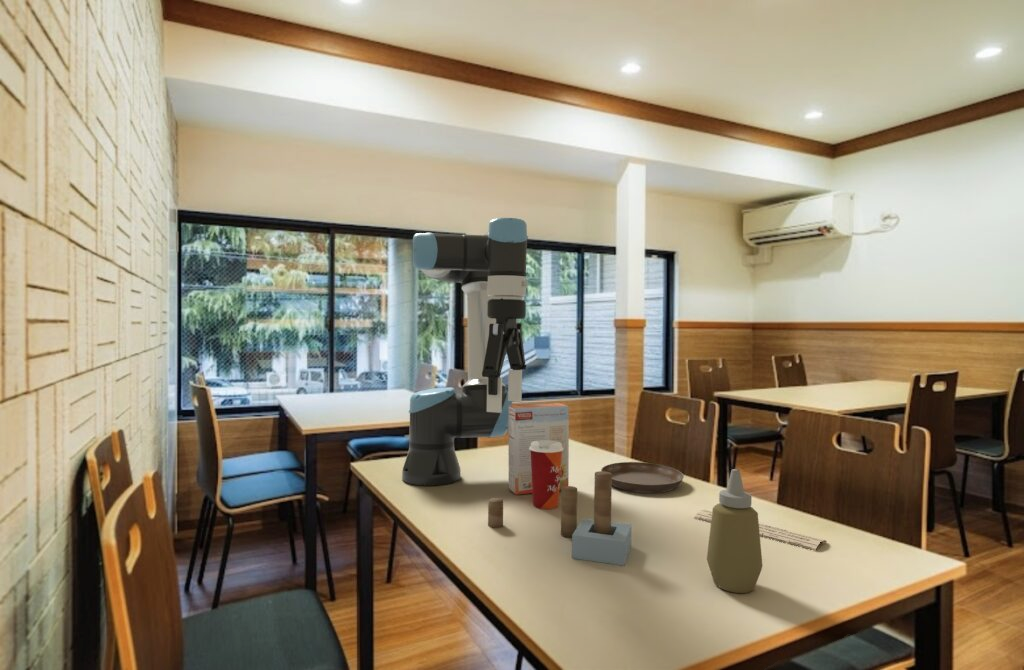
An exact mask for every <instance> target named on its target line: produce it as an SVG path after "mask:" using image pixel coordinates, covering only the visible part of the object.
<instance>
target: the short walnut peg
mask: <svg viewBox="0 0 1024 670" xmlns="http://www.w3.org/2000/svg"><path fill="white" fill-rule="evenodd" d="M487 508H488V509H487V513H488V515H487V526H488V527H489V528H491V527H492V529H499V528H503V526H504V500H503V499H502V498H497V497H495V498H494V497H493V498H490V499H488V503H487Z"/></svg>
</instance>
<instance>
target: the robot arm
mask: <svg viewBox="0 0 1024 670" xmlns="http://www.w3.org/2000/svg"><path fill="white" fill-rule="evenodd" d="M527 226H528V225H527V223H526V221H525V220H523V219H521V218H517V217H498V218H493V219H491V220H490V221H489V223H488V232H487V234H486V235H483V234H478V235H477V234H455V233H454V234H453V233H432V232H425V233H424V232H423V233H422V232H419V233H415V234H414V235H413V237H412V266H413V267H414V268H415V269H416V270H420V271H421V272H422V273H423V275H425V276H427V277H429V278H431V279H434V280H437V281H440V282H445V283H454V284H455V283H458V284H461V290H462V291H463V293H465V294H466V298H467V299H466V301H467V303H466V304H467V307H466V308H467V310H466V311H467V316H466V318H467V321H466V322H467V381H466V382H465V383H464V384H463V385H462V389H461V390H462V391H461V393H459V392H456V390H455V388H454V387H451V386H450V387H435V388H430V389H424V390H420V391H416V392H414V393H413V394H412V395H411V396H410V399H409V410H408V414H409V435H408V436H409V437H408V438H409V439H408V440H409V443H408V444H409V445H408V447H409V448H408V451H407V455H406V457H405V461H404V464H403V466H402V467H403V468H402V473H401V480H402V481H403V482H405V483H407V484H411V485H415V486H416V485H417V486H442V485H443V486H444V485H448V484H452V483H454V482H457V481H459V480H460V479H461V466H460V464H459V459H458V457H457V453H456V450H455V439H456V438H460V439H461V438H464V439H465V438H492V437H493V438H496V437H504V436H505V435H506V434H507V433H508V432H509V430H508V426H509V405H513V402H520V403H521V402H522V400H523V399H522V396H523V394H522V392H523V390H522V389H523V387H522V386H523V371H524V370H525V371H526V370H527V364H526V357H525V350H524V342H523V332H522V329H523V328H522V327H523V326H522V322H517V320H524V319H525V318H526V317H527V316H526V315H527V313H526V312H527V309H526V305H527V302H526V301H525V300H524V299H523V298H525V297H526V293H527V288H526V287H528V286H529V282H528V281H527V278H526V277H527V250H528V248H527V247H528V239H529V236H528V231H527V230H528V229H527ZM506 357H507V359H508V364H509V367H510V369H508V377H507V378H508V385H507V387H506V384H505V383H503V377H502V376H501V375H502V374H501V373H502V369H503V366H504V362H505V358H506ZM506 388H507V390H506Z"/></svg>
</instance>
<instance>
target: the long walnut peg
mask: <svg viewBox="0 0 1024 670" xmlns="http://www.w3.org/2000/svg"><path fill="white" fill-rule="evenodd" d="M612 486H613V485H612V473H610V472H605V471H601V470H600V471H595V472H594V491H593V492H594V495H593V496H594V497H593V498H594V500H593V501H594V502H593V503H594V504H593V520H594V533H599V534H606V535H611V522H612V497H613V496H612V494H613V493H612V489H613V487H612Z"/></svg>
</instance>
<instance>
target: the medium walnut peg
mask: <svg viewBox="0 0 1024 670" xmlns="http://www.w3.org/2000/svg"><path fill="white" fill-rule="evenodd" d="M560 491H561V494H560V495H561V496H560V497H561V498H560V499H561V503H560V505H561V506H560V508H561V509H560V536H561V537H563V538H566V539H567V538H568V539H572V534H573V533H574V531H575V530H576V528H577V527H578V521H577V519H578V518H577V517H578V488H577V487H576V486H571V485H568V486H564V487H562V488H561V490H560Z"/></svg>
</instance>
